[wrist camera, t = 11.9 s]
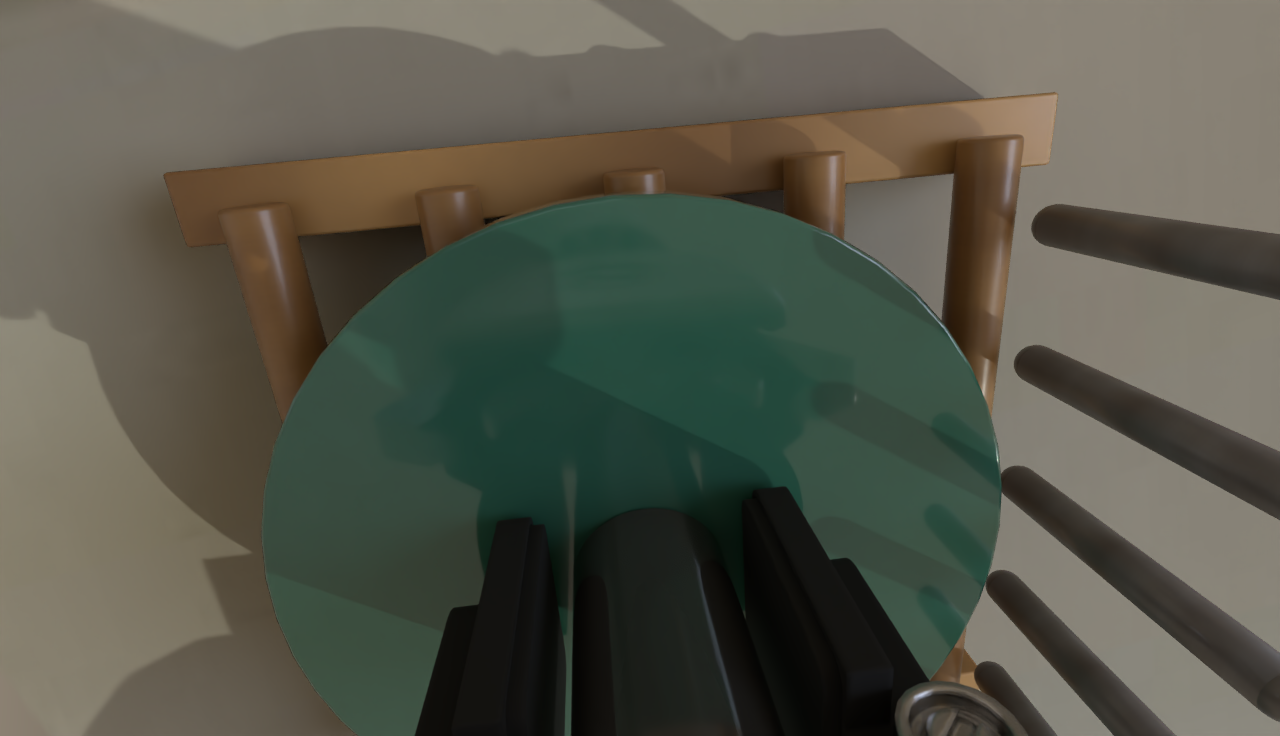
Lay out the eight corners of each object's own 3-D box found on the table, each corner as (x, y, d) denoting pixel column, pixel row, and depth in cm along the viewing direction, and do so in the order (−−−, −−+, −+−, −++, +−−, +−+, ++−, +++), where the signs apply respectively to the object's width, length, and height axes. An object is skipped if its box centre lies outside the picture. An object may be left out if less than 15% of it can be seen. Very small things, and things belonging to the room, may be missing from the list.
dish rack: (391, 722, 17) (230, 1224, 9) (226, 167, 12) (-441, 223, 4) (935, 647, 18) (1215, 1049, 10) (989, 98, 13) (1634, 37, 5)
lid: (381, 810, 14) (245, 1267, 8) (190, 228, 10) (-371, 361, 4) (937, 728, 15) (1162, 1100, 9) (999, 151, 10) (1517, 167, 5)
